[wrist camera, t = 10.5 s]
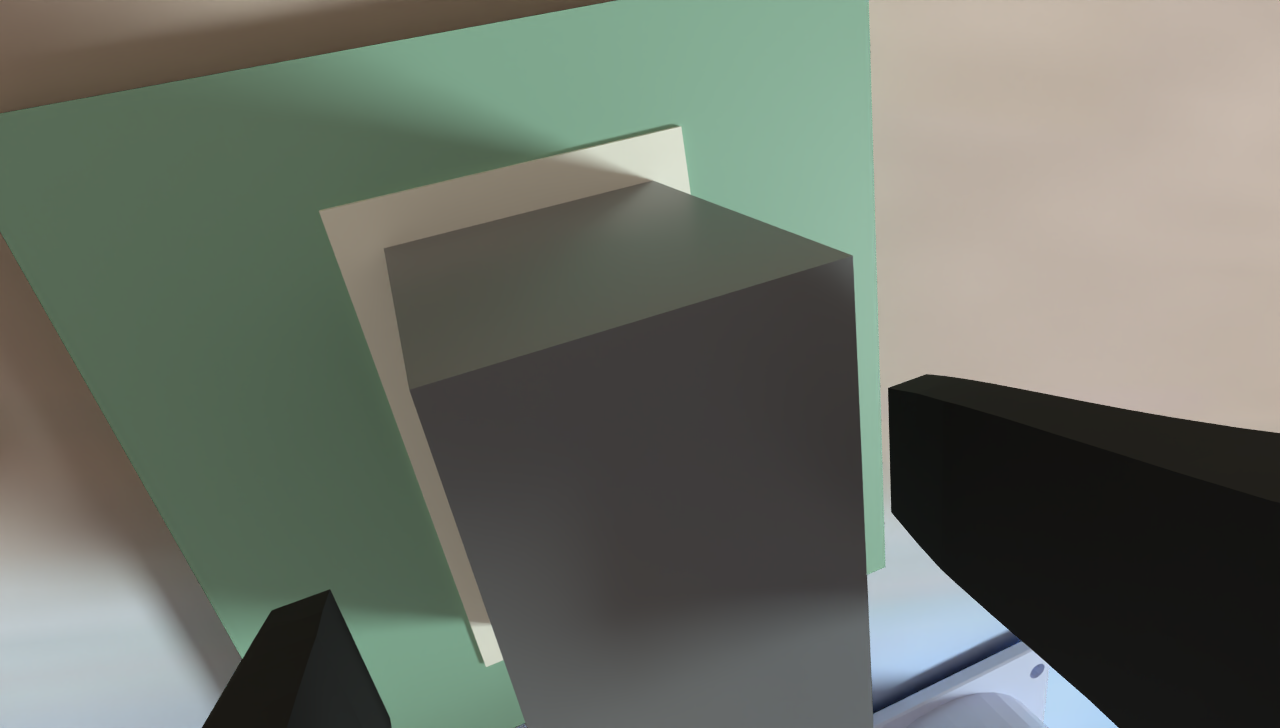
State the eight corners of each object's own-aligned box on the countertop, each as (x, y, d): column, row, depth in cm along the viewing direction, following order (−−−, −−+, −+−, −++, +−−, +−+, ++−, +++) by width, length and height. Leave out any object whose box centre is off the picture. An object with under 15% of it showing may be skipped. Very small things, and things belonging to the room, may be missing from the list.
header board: (852, 536, 17) (968, 645, 14) (328, 754, 14) (322, 955, 11) (822, -36, 12) (995, -74, 9) (-12, 118, 9) (-217, 146, 6)
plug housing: (710, 544, 14) (875, 760, 10) (509, 624, 13) (589, 906, 9) (652, 180, 11) (852, 255, 7) (383, 248, 10) (410, 388, 6)
